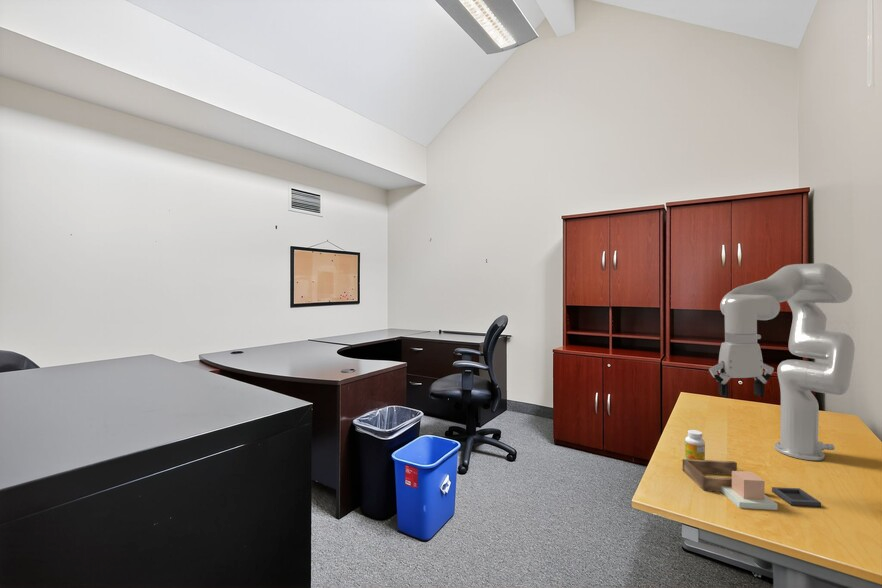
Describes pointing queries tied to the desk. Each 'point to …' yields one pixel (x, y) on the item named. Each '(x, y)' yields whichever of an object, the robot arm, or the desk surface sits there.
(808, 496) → the dark gray rectangular tray
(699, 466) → the wooden tray frame
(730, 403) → the desk surface
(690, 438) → the supplement bottle
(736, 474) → the terracotta cube
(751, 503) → the sage tile
